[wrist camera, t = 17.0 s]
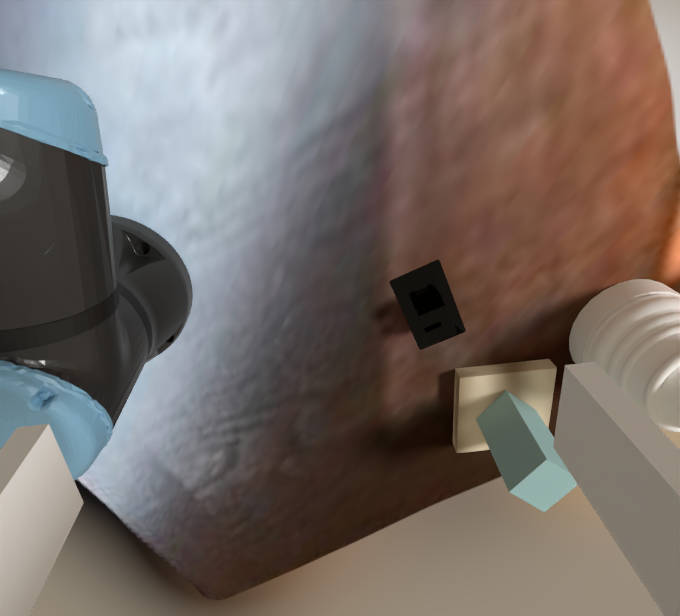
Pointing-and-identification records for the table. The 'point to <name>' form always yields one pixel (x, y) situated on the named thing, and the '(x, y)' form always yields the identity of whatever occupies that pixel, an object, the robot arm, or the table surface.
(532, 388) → the base slab
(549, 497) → the pillar block
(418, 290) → the black boxy piece
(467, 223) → the table surface
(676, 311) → the honey pot
